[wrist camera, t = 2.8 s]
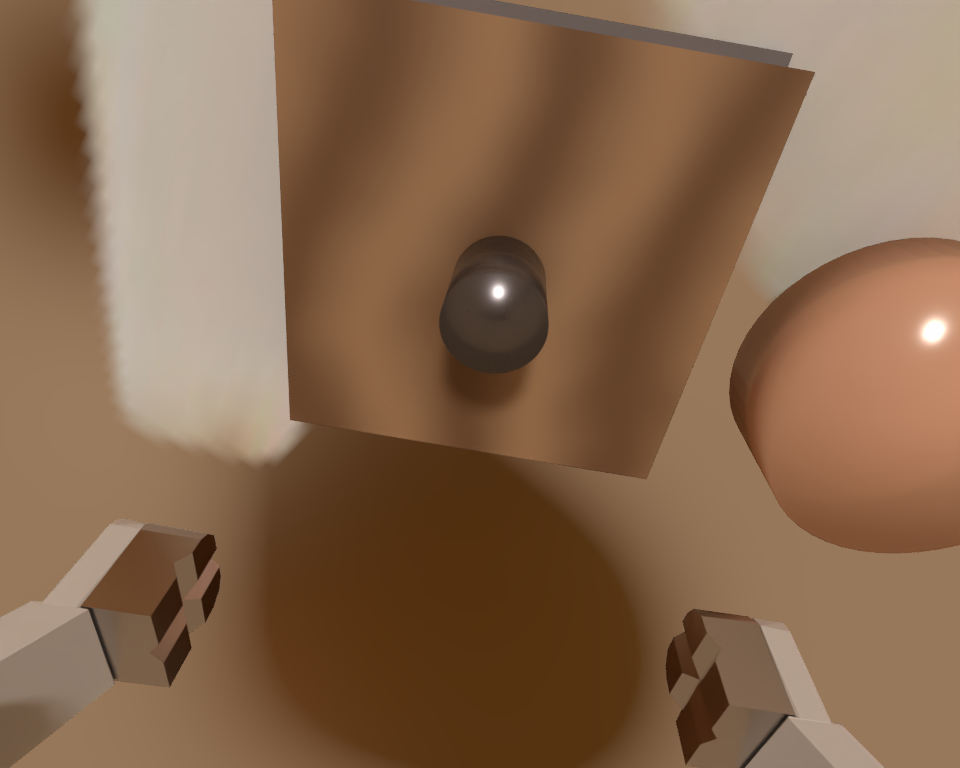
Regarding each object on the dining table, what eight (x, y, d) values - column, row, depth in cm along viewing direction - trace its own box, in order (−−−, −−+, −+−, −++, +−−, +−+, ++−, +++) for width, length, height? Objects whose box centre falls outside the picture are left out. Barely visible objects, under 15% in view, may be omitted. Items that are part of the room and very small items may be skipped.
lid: (773, 67, 20) (885, 80, 14) (634, 434, 29) (663, 544, 23) (310, -16, 20) (207, -41, 14) (314, 380, 29) (254, 477, 23)
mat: (787, 53, 20) (792, 53, 20) (639, 437, 30) (641, 443, 30) (300, -34, 20) (295, -36, 20) (308, 382, 30) (305, 387, 29)
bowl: (1062, 249, 23) (1244, 321, 17) (903, 466, 30) (996, 573, 24) (781, 200, 23) (867, 256, 17) (682, 429, 29) (720, 527, 24)
